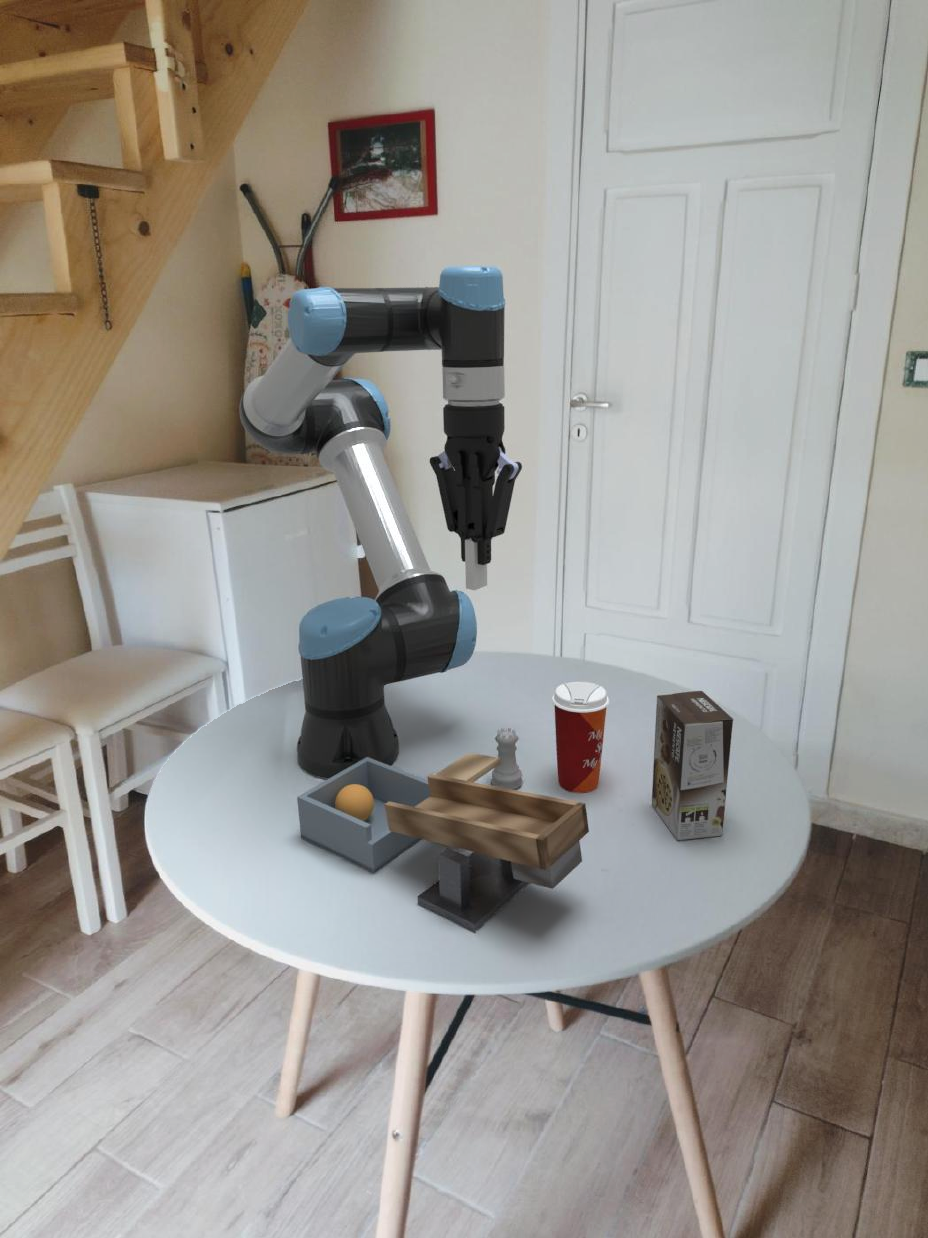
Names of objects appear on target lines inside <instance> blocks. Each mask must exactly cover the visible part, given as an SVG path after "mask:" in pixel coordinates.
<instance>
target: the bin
mask: <svg viewBox="0 0 928 1238" xmlns="http://www.w3.org/2000/svg"><path fill="white" fill-rule="evenodd" d="M351 784H359V785H362V786H364V787H366V788H367V789H368V790H369V791H370V792H371V794H372V796H373V799H374V808H373V811H372V813H371V815H370V816H369V818H368V819H366V820H365V821H362V820H359V819H357V818H355V817H353V816H350V815H348V814H346V813H344V812H341V811H339V810H337V809H335V800H336V797H337V795H338V793H339V792H340V790H342V789H343V788H344V787H346V786H348V785H351ZM428 797H430V790H429V784H428V779H427V778H423V777H421V776H418V775H415V774H413V773H410V772H408V771H405V770H402V769H401V768H397V767H394V766H392V765H387V764H384V763H382V762H379V761H377V760H374V759H371V758H369V757H366V758H364V759H363V760H361V761H359V762H357V763H356V764H354V765H352V766H350V767H349V768H347V769H345V770H343V771H341V772H340V773H338V774H336V775H334V776H333V777H331V778H329V779H326V780H324V781H322V782H321V783H319V784H317V785H315V786H313V787H311V788H310V789H308V790H307V791H304V792H303V793H301V794H299V795H298V796H296V799H297V800H296V801H297V810H298V820H299V829H300V830H299V831H300V839H302V840H304V841H306V842H308V843H310V844H312V845H314V846H316V847H318V848H320V849H323V850H324V849H325V850H324V851H327V852H329V853H331V854H333V855H335V856H336V857H339V858H341V859H343V860H345V861H347V862H349V863H351V864H353V865H355V866H358V867H360V868H361V869H363V870H366V871H367V872H369V873H371V874H376V873H377V872H379V871H380V870H382V869H383V868H384V867H386V866H387V865H388V864H390V863H391V862H392V861H394V860H395V859H398V857H399V856H401V855H402V854H404V853H405V852H406V851H408V850H409V849H411V848H412V847H413V846H414V845H416V844H417V843H419V842H420V841H422V840H423V839H420V838H416V837H412V836H408V835H404V834H400V833H396V832H392V831H389V827H388V821H387V816H386V811H385V805H384V804H386V803H387V802H389V801H390V802H394V803H399V804H403V805H408V806H412V807H415V806H417V805H418V804H420V803H421V802H422V801H424V800H425V799H427V798H428Z"/></svg>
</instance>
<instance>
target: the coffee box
mask: <svg viewBox="0 0 928 1238" xmlns="http://www.w3.org/2000/svg"><path fill="white" fill-rule="evenodd" d="M655 707H656V709H655V727H654V729H655V730H654V746H653V747H654V749H653V765H652V766H653V770H652V793H651V806H652V807H653V809H654V810H655V812H656V813H657V814H658V816H659V817H660V818H661V820H662V821H663V823H664V824H665V826H666V828H668V829H669V831H670V832H671V834H672V835H673V837H674V838H675V839H676V840H677V841H683V840H692V839H694V840H695V839H702V838H711V837H720V836H721V837H722V835H723V832H724V821H725V819H724V818H725V811H726V810H725V808H726V800H727V788H728V779H729V778H728V777H729V768H730V767H729V766H730V756H731V746H732V735H733V734H732V733H733V725H734V718H733V717H732V716H731V715H730V714H729V713H727V712H726V711H725V710H724V709H723V708H722V707H720V706H719V704H717V703H716V702H715V701H714V700H713V699H712V698H710V696H708V695H707V694H706V693H705V692H704V691H703V690H694V691H693V690H692V691H685V692H684V691H683V692H677V693H671V694H660V695H656V706H655Z"/></svg>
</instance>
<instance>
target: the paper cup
mask: <svg viewBox="0 0 928 1238" xmlns="http://www.w3.org/2000/svg"><path fill="white" fill-rule="evenodd" d="M607 694H608V693H607V691H606V689H605V688H604V687H603V686H601V685H599V684H596V683H593V682H589V681H588V682H587V681H571V682H570V681H569V682H566V683H562V684H560V685H558V686H557V687H556V689H555V692H554V694H553V695H552V698H551V702H552V704H553V705H554V724H555V746H556V748H555V749H556V765H557V767H556V768H557V780H558V781H557V782H558V785H559V787H561V789H563V790H565V791H567V792H569V793H577V794H586V793H589V792H592V791H594V790H595V789H597V788H598V786H599V780H600V774H601V772H600V771H601V766H602V765H601V764H602V757H603V756H602V754H603V744H604V735H605V725H606V724H605V723H606V717H607V707H608V706H609V704H610V698H609V697H608V695H607Z"/></svg>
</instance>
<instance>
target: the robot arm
mask: <svg viewBox="0 0 928 1238" xmlns="http://www.w3.org/2000/svg"><path fill="white" fill-rule="evenodd" d="M505 306H506V299H505V297H504V275H503V272H502V270H501V269H499V268H498V267H496V266H492V265H461V266H457V265H456V266H447V267H444V269H442V270H441V273H440V275H439V283H438V286H434V287H433V286H432V287H430V286H424V287H417V286H416V287H365V288H364V287H329V286H319V287H315V288H306V289H305V288H304V289H298V290H297V291H295V292H294V293H293V294H292V295H291V298H290V300H289V308H288V310H287V327H288V332H289V333H288V334H289V338H288V340H287V341H286V343H285V344H284V346H283V347H282V348H281V350H280V351H279V353H278V354H277V356H276V357H275V359H274V360H273V361H272V363H271V364H270V366H269V367H268V369H267V370H266V372H265V373H264V374H262V375H261V376H258V377H256V378H255V379H254V378H253V380H252V381H251V382H250V383H249V384H248V386H246V388H245V389H244V392H243V393H242V395H241V398H240V402H239V406H238V407H239V418H240V422H241V424H242V426H243V428H244V430H245V432H246V433H247V434H248V436H249V437H250V439H251V440H253V441H254V442H255V443H257V444H258V445H259V446H260V447H262V448H264V449H266V450H268V451H270V452H272V453H276V454H279V455H286V456H289V455H290V456H294V455H295V456H297V455H307V454H309V455H310V454H316V457H317V458H318V459H317V460H318V461H319V463H320V465H321V467H322V468H323V469H324V470H326V471H328V472H330V473H333V474H334V477H335V479H336V482H337V485H338V488H339V490H340V492H341V495H342V498H343V501H344V503H345V505H346V508H347V510H348V514H349V516H350V519H351V521H352V523H353V526H354V529H355V532H356V534H357V537H358V539H359V542H360V545H361V547H362V549H363V553H364V555H365V558H366V560H367V563H368V565H369V568H370V571H371V574H372V576H373V578H374V581H375V584H376V586H377V589H378V593H377V595H376V597H375V598H374V599H373V598H370V597H366V596H354V597H349V596H348V597H340V598H336V599H332V600H329V601H326V602H323V603H321V604H318V605H316V606H314V607H313V608H311V609H310V610H308V611H307V613H306V614H304V616H303V617H302V619H301V620H300V623H299V626H298V627H299V628H298V630H299V631H298V632H299V633H298V634H299V636H298V638H299V640H298V641H299V643H298V654H299V655H300V664H301V665H300V666H301V674H302V687H303V688H302V689H303V697H304V709H305V710H304V711H305V712H304V716H303V719H302V725H301V729H300V730H301V731H300V736H299V738H298V740H297V744H296V754H297V755H296V757H297V764H298V765H299V767H300V768H301V769H302V770H303V771H305V773H307V774H310V775H312V776H314V777H318V778H322V779H326V780H327V779H329V778H331V777H333V776H334V775H336V774H338V773H340V772H341V771H343V770H345V769H347V768H349V767H350V766H352V765H354V764H356V763H357V762H359V761H361V760H363V759H364V758H366V757H369V758H371V759H374V760H377V761H379V762H382V763H384V764H387V765H390V766H392V765H393V764H394V763H395V762H396V760H397V759H398V757H399V756H400V743H399V742H400V741H399V736H398V733H397V731H396V729H395V728H394V724H393V721H392V718H391V716H390V714H389V711H388V708H387V706H386V701H385V686H386V685H389V684H390V685H391V684H394V683H399V682H404V681H408V680H412V679H415V678H420V677H421V678H422V677H425V676H430V675H433V674H438V673H440V674H441V673H446V672H448V670H452V669H456V668H458V667H462V666H464V665H465V664H467V663H468V662H469V660H470V659H471V658H472V656H473V654H474V651H475V649H476V648H475V647H476V644H477V636H478V625H477V624H478V622H477V617H476V612H475V608H474V605H473V603H472V600H471V599H470V597H469V595H467V593H465V592H464V591H463V590H458V589H455V590H450V589H449V586H448V583H447V582H446V579H445V576H444V575H443V574H441V573H439V572H435V571H432V570H431V568H430V565H429V564H428V561H427V558H426V556H425V553H424V551H423V548H422V547H421V546H422V545H421V544H420V542H419V539H418V536H417V535H416V531H415V529H414V527H413V525H412V522H411V519H410V517H409V514H408V512H407V510H406V508H405V505H404V502H403V500H402V498H401V496H400V493H399V490H398V488H397V485H396V483H395V481H394V479H393V475H392V473H391V471H390V469H389V467H388V463H387V462H386V459H385V456H384V455H383V454H384V452H385V450H386V448H387V441H388V440H389V437H390V434H391V427H392V426H391V418H390V417H389V412H390V410H389V406H388V404H387V401H386V399H385V396H384V394H383V393H382V391H381V390H380V389H379V387H378V386H377V385H376V384H375V383H373V382H372V381H370V380H368V379H366V378H351V377H342V378H338V379H335V380H334V378H335V376H337V374H338V373H339V372H340V371H341V369H342V368H343V367H344V366H345V365H346V364H347V363H348V361H349V360H351V358H353V356H354V355H355V354H363V353H381V352H382V353H383V352H404V351H405V352H406V351H407V352H408V351H432V350H435V351H438V350H439V351H441V366H442V371H441V372H442V398H443V400H445V401H447V404H444V407H443V408H442V414H443V417H442V418H443V419H442V420H443V421H442V422H443V432H444V434H445V435H446V441H445V443H444V447H443V449H444V450H443V451H442V452H441V453H440V454H438V455H436V456H431V457H430V458H429V464H430V467H431V468H432V470H433V472H434V474H435V477H436V481H437V486H438V490H439V494H440V499H441V504H442V509H443V514H444V517H445V523H446V528H447V530H448V531H449V532H450V533H452V532H453V533H455V534H457V535H458V536H459V538H460V558H461V561H462V562H464V563H465V589H466V590H471V591H477V590H480V589H482V588H484V587H487V586H488V564H490V563H491V561H492V539H493V538H495V537H499V536H501V535H503V534H504V533H505V531H506V526H507V521H508V516H509V511H510V507H511V502H512V497H513V492H514V489H515V488H514V487H515V483H516V479H517V478H518V477H519V475H520V473H521V471H522V469H523V465H522V463H521V462H520V461H513V460H512V459H511V458H510V457H508V456H507V455H506V448H505V445H504V442H503V437H504V433H505V406H504V405H503V403H501V402H500V400H503V399H505V396H506V393H505V392H506V391H505V390H506V389H505V385H506V384H505V364H504V363H505V361H504V360H505V309H506V307H505ZM495 472H496V473H497V474H498V475H497V477H496V473H495Z"/></svg>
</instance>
